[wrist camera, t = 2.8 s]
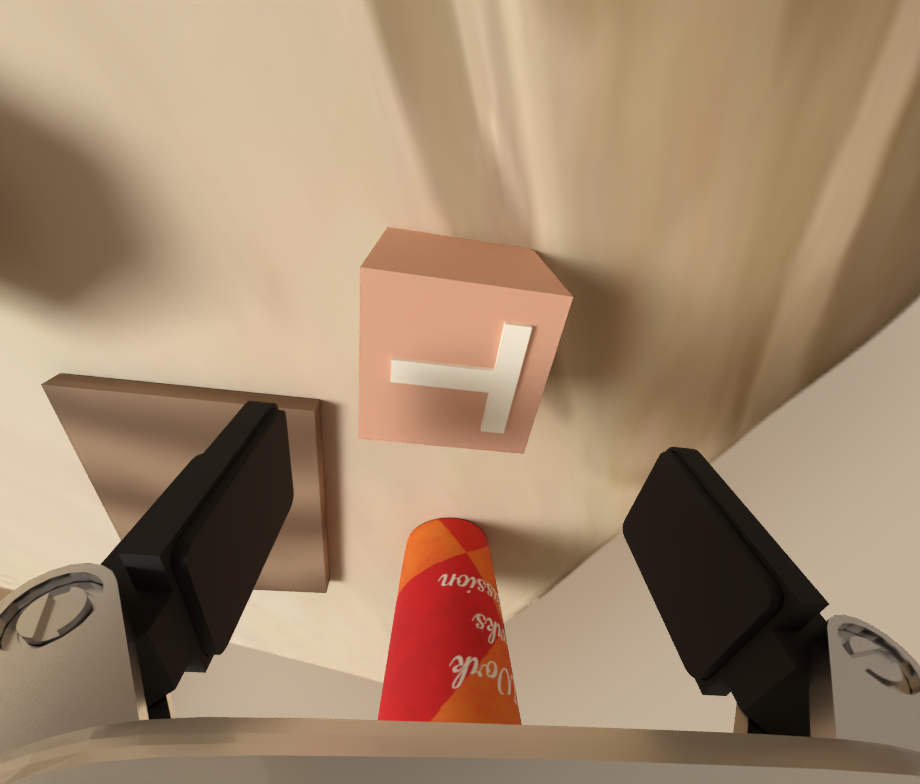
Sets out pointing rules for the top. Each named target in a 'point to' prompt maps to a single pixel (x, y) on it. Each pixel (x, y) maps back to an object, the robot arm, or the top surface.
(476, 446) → the lettered cube
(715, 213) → the top surface
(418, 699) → the paper cup
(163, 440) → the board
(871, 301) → the top surface
